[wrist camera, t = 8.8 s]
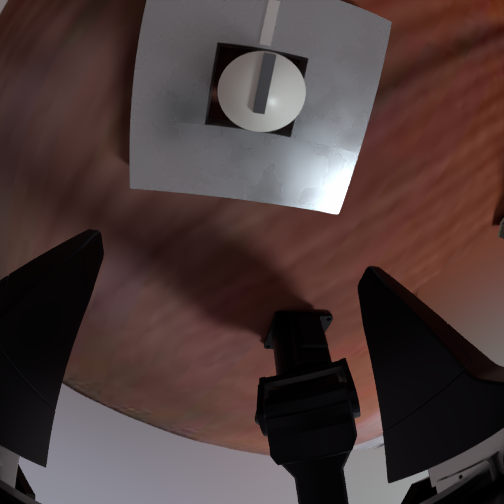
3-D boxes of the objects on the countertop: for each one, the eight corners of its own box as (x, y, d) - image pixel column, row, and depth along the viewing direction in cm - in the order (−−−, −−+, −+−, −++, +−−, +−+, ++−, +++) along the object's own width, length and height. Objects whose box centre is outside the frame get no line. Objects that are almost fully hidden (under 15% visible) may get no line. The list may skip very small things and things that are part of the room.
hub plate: (328, 197, 20) (339, 215, 18) (141, 174, 18) (129, 189, 16) (373, 25, 12) (393, 21, 10) (163, -13, 10) (151, -24, 8)
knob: (278, 118, 16) (297, 140, 11) (220, 109, 16) (211, 127, 11) (289, 65, 14) (315, 61, 9) (229, 55, 14) (224, 44, 9)
